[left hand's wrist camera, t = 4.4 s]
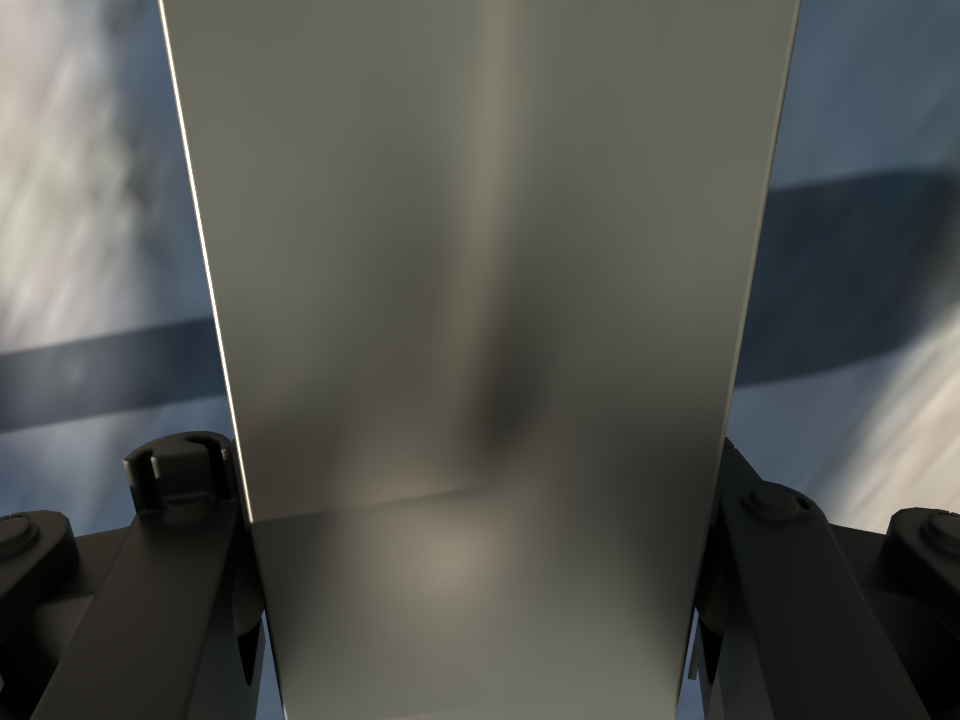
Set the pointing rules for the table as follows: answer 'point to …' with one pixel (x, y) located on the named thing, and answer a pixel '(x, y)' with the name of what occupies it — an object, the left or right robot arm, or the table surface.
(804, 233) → the table surface
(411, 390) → the bar
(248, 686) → the left robot arm
